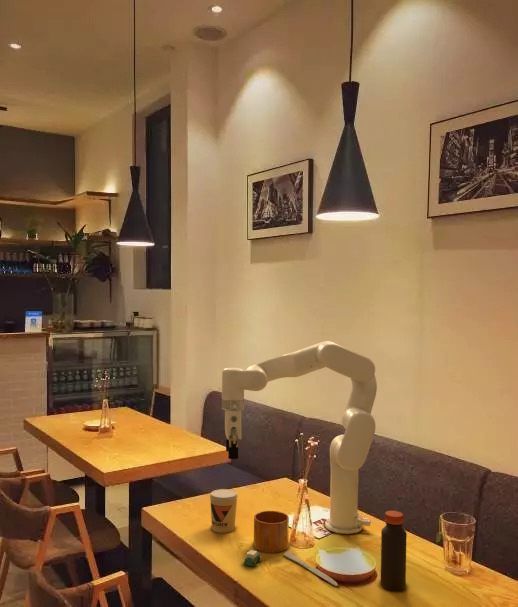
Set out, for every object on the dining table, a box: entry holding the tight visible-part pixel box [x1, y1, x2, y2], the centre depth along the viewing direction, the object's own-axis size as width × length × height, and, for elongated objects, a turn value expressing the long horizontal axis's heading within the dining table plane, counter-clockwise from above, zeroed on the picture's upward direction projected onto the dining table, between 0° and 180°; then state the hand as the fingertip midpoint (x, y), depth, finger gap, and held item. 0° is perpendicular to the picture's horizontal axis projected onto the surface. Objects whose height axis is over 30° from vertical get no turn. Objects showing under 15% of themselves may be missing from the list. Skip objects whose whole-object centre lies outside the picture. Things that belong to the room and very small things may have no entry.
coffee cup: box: [209, 488, 238, 534], centre depth 203 cm, size 9×9×12 cm
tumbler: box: [253, 510, 290, 553], centre depth 190 cm, size 11×11×9 cm
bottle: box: [379, 510, 408, 592], centre depth 165 cm, size 7×7×20 cm
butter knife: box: [283, 551, 339, 587], centre depth 174 cm, size 1×24×3 cm
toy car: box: [243, 549, 262, 568], centre depth 177 cm, size 6×3×3 cm, turn 156°
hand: (231, 454), depth 202 cm, fingers open, 9 cm apart
